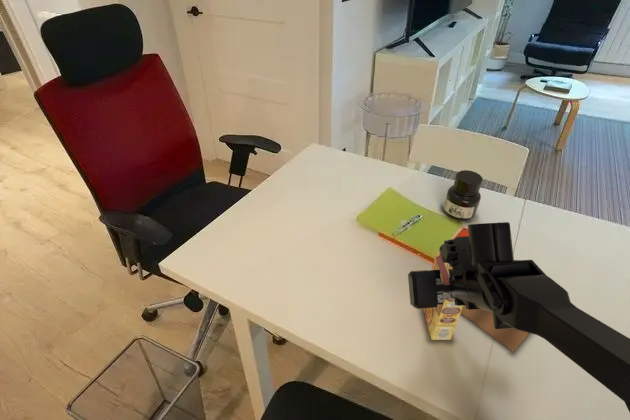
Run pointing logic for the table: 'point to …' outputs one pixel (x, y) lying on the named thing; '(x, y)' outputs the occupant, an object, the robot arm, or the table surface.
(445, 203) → the ink bottle
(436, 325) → the candy box
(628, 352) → the robot arm
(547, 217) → the table surface
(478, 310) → the cork mat
